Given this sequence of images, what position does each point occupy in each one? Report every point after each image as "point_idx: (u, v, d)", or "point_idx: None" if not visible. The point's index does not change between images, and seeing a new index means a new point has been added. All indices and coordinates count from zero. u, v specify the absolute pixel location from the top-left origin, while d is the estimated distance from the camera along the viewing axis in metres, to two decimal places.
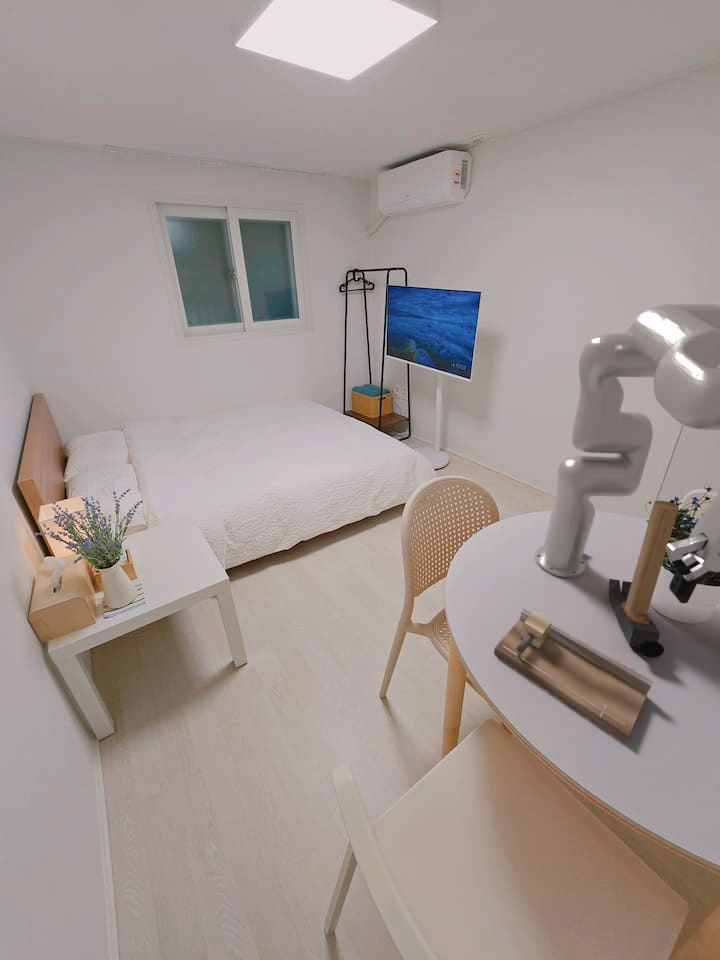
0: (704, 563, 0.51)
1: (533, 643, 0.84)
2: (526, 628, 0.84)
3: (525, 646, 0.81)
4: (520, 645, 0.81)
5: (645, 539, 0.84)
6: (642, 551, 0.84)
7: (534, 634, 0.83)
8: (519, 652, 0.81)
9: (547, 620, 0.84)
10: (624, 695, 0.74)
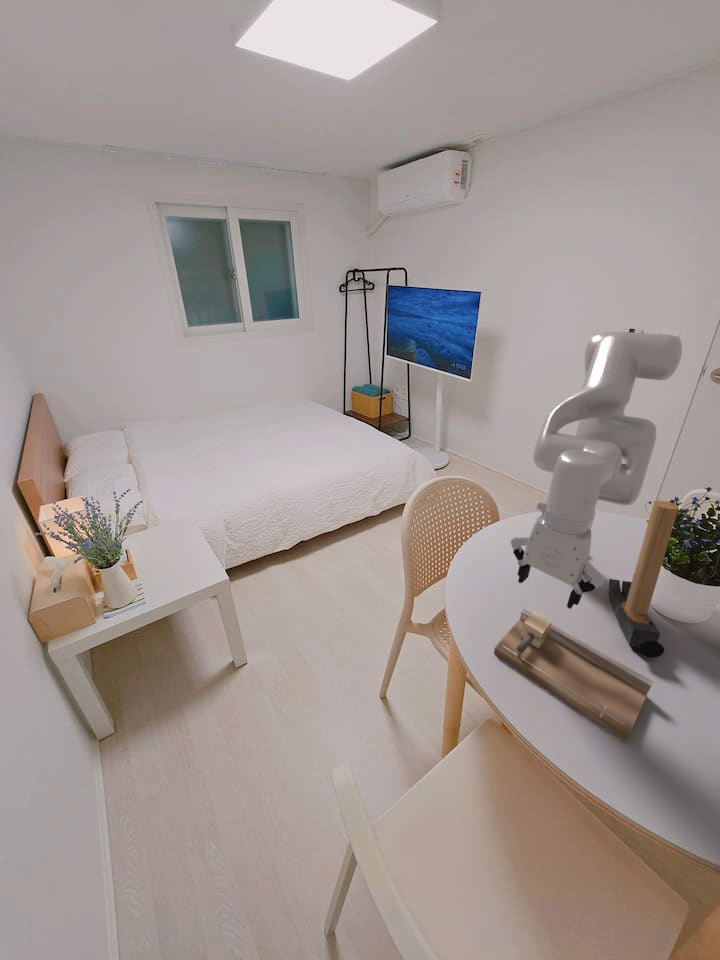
0: (584, 571, 0.74)
1: (533, 643, 0.84)
2: (526, 628, 0.84)
3: (525, 646, 0.81)
4: (520, 645, 0.81)
5: (645, 539, 0.84)
6: (642, 551, 0.84)
7: (534, 634, 0.83)
8: (519, 652, 0.81)
9: (547, 620, 0.84)
10: (624, 695, 0.74)
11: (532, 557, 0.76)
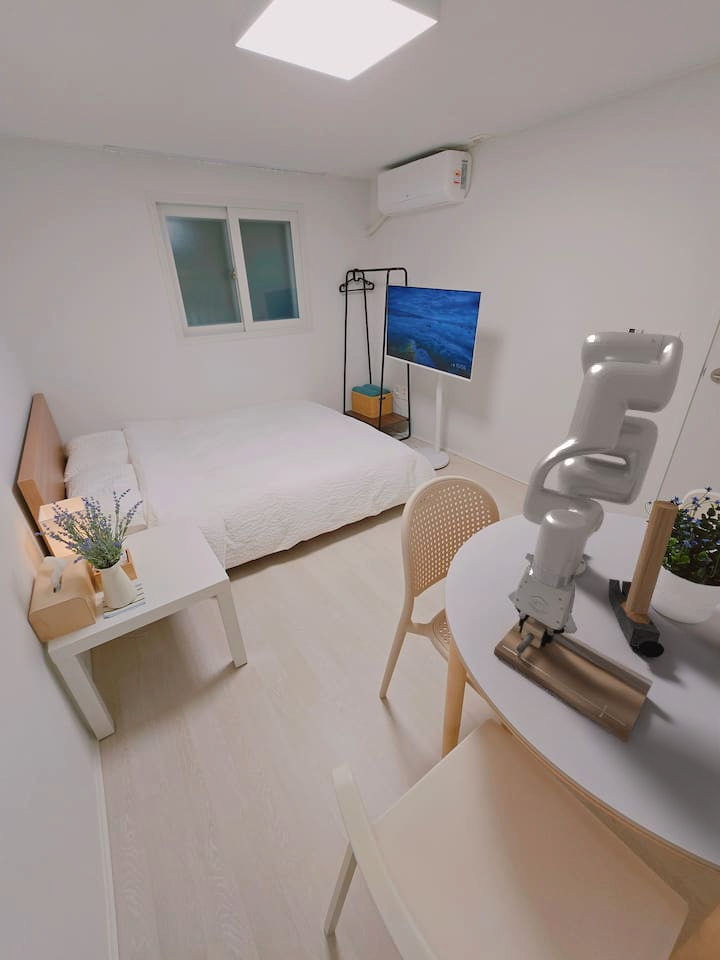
0: None
1: (533, 643, 0.84)
2: (526, 628, 0.84)
3: (525, 646, 0.81)
4: (520, 645, 0.81)
5: (645, 539, 0.84)
6: (642, 551, 0.84)
7: (534, 634, 0.83)
8: (519, 652, 0.81)
9: None
10: (624, 695, 0.74)
11: (521, 603, 0.82)
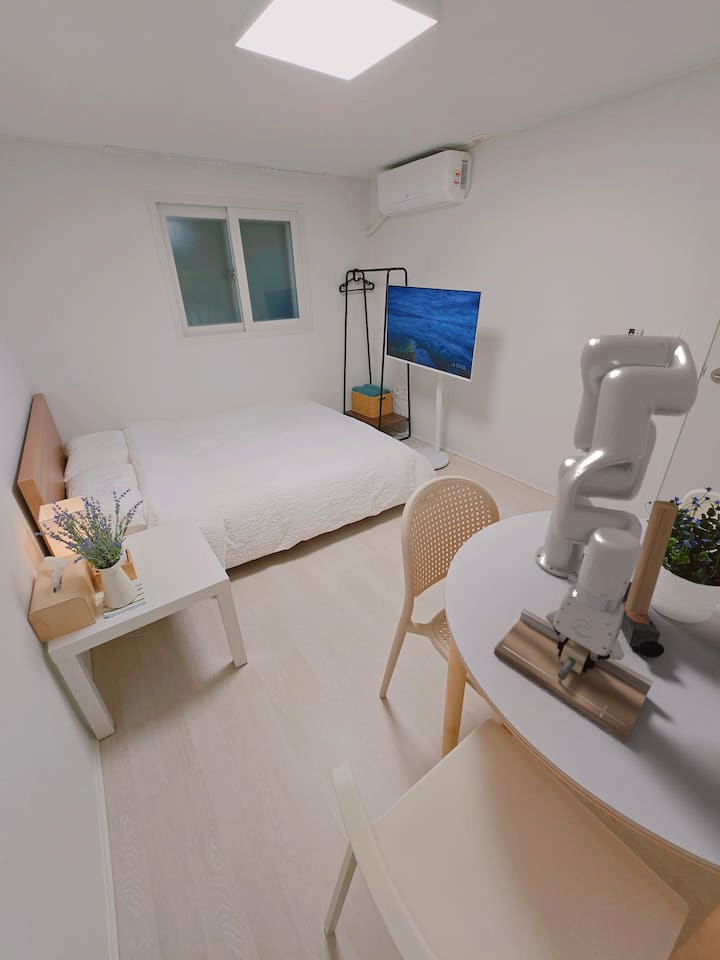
0: None
1: (574, 668, 0.78)
2: (566, 652, 0.78)
3: (567, 672, 0.75)
4: (561, 671, 0.75)
5: (645, 539, 0.84)
6: (642, 551, 0.84)
7: (575, 659, 0.77)
8: (560, 679, 0.76)
9: None
10: (624, 695, 0.74)
11: (562, 625, 0.76)
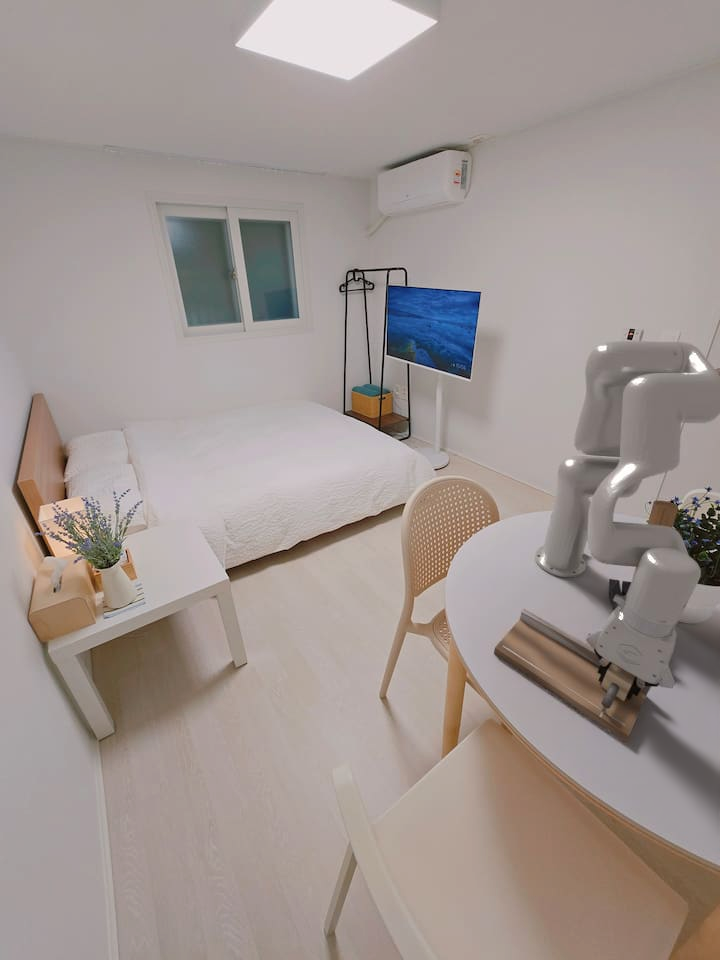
0: None
1: (617, 695, 0.73)
2: (609, 678, 0.73)
3: (612, 700, 0.70)
4: (606, 699, 0.70)
5: None
6: None
7: (619, 685, 0.72)
8: (604, 707, 0.71)
9: None
10: None
11: (606, 650, 0.71)
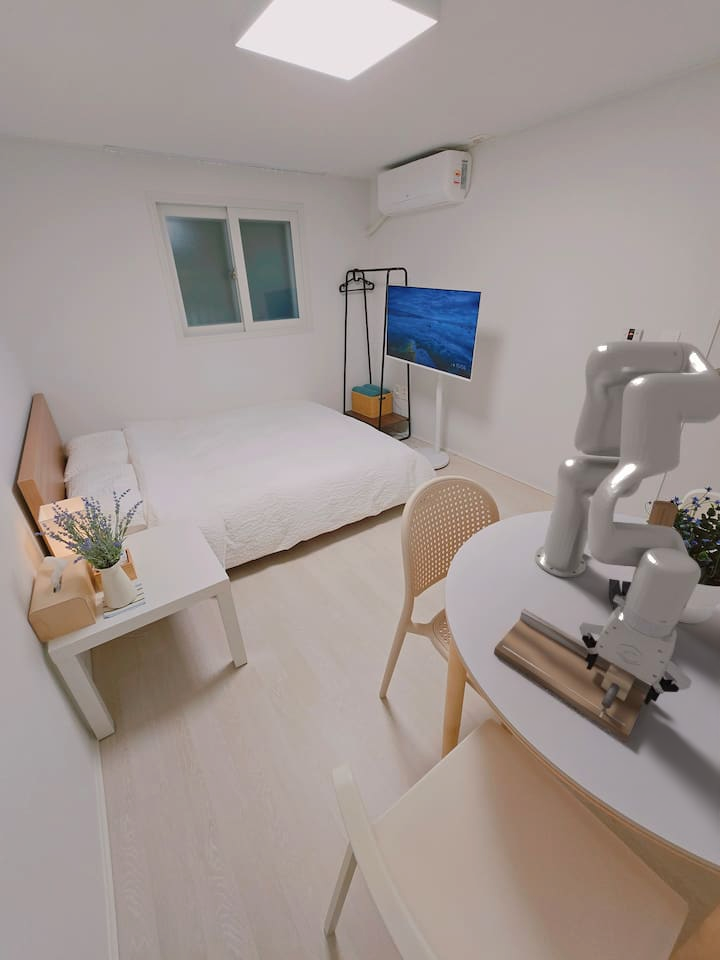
0: None
1: (617, 695, 0.73)
2: (609, 678, 0.73)
3: (612, 700, 0.70)
4: (606, 699, 0.70)
5: None
6: None
7: (619, 685, 0.72)
8: (605, 707, 0.71)
9: None
10: None
11: (606, 650, 0.71)
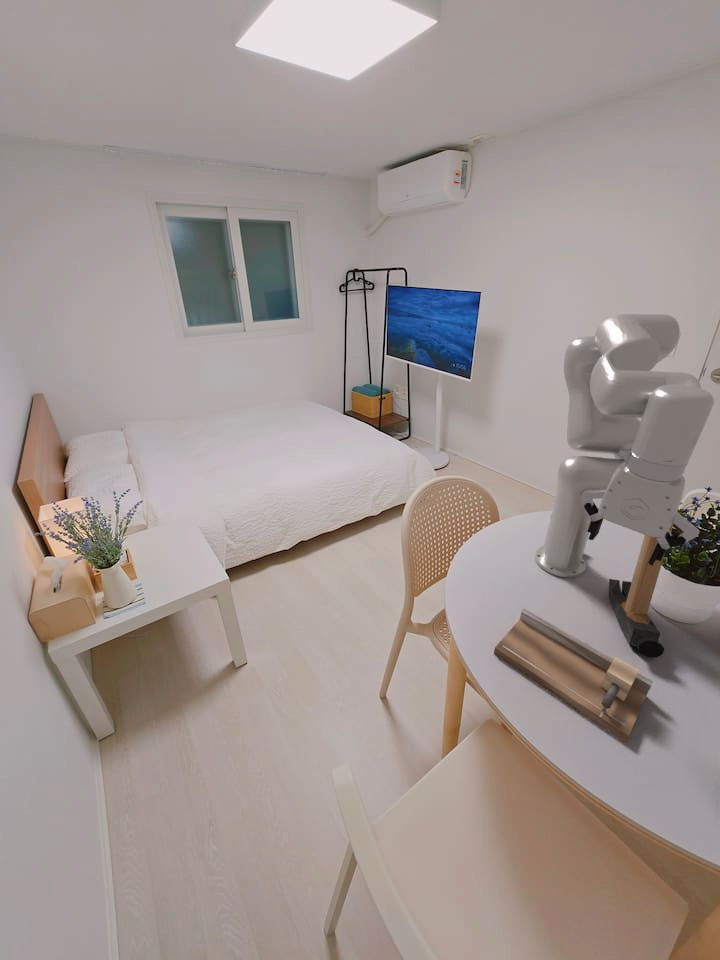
0: None
1: (617, 695, 0.73)
2: (609, 678, 0.73)
3: (612, 700, 0.70)
4: (606, 699, 0.70)
5: (645, 539, 0.84)
6: (642, 551, 0.84)
7: (619, 685, 0.72)
8: (605, 707, 0.71)
9: (633, 668, 0.74)
10: None
11: (610, 510, 0.68)
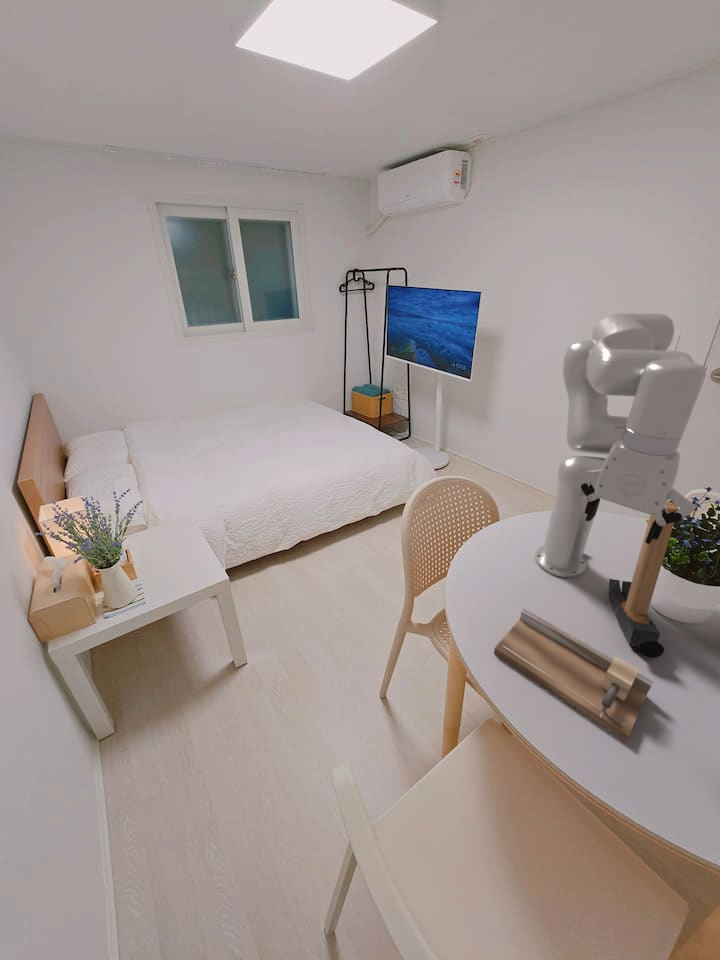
0: None
1: (617, 695, 0.73)
2: (609, 678, 0.73)
3: (612, 700, 0.70)
4: (606, 699, 0.70)
5: (645, 539, 0.84)
6: (642, 551, 0.84)
7: (619, 685, 0.72)
8: (605, 707, 0.71)
9: (633, 668, 0.74)
10: None
11: (606, 488, 0.68)
